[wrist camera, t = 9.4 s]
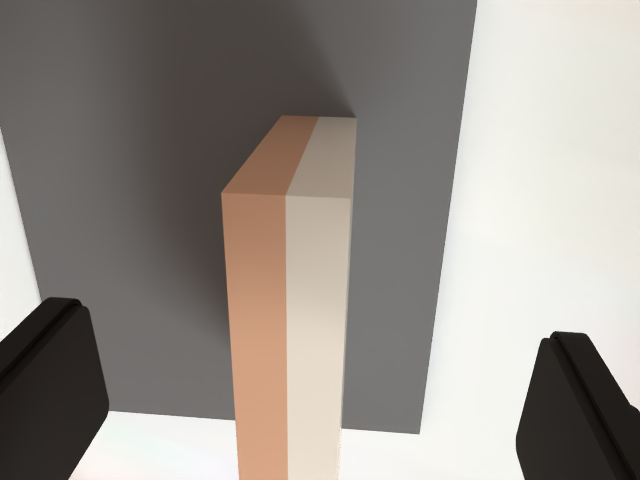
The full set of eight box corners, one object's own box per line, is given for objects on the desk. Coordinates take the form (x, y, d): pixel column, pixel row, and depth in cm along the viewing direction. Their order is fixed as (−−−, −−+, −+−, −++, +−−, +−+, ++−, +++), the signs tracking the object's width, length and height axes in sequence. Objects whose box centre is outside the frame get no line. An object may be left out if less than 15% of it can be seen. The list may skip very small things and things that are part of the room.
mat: (-158, -618, 10) (-182, -647, 10) (560, -661, 9) (570, -694, 9) (73, 398, 21) (66, 407, 21) (418, 424, 20) (419, 434, 20)
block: (281, 115, 15) (220, 192, 9) (357, 118, 15) (351, 198, 9) (284, 385, 19) (245, 572, 13) (343, 389, 19) (332, 580, 13)
